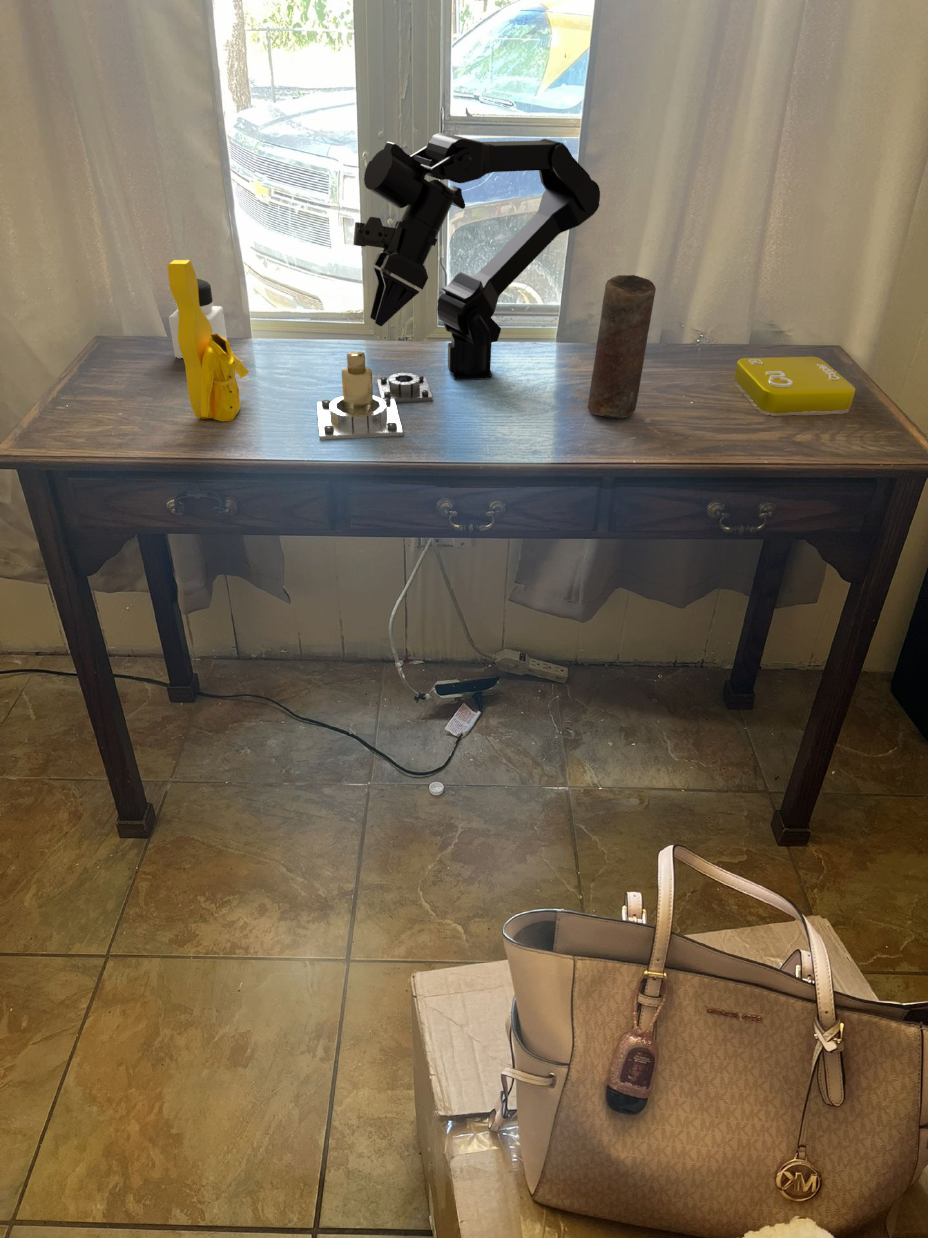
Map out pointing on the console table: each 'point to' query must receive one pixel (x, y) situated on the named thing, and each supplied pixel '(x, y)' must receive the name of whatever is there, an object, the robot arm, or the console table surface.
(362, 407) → the gold metal cylinder
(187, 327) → the yellow tall sculpted piece
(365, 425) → the flange large
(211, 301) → the medicine bottle
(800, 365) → the element tile
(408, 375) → the flange small
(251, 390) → the console table surface
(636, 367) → the rusty brown cylinder
